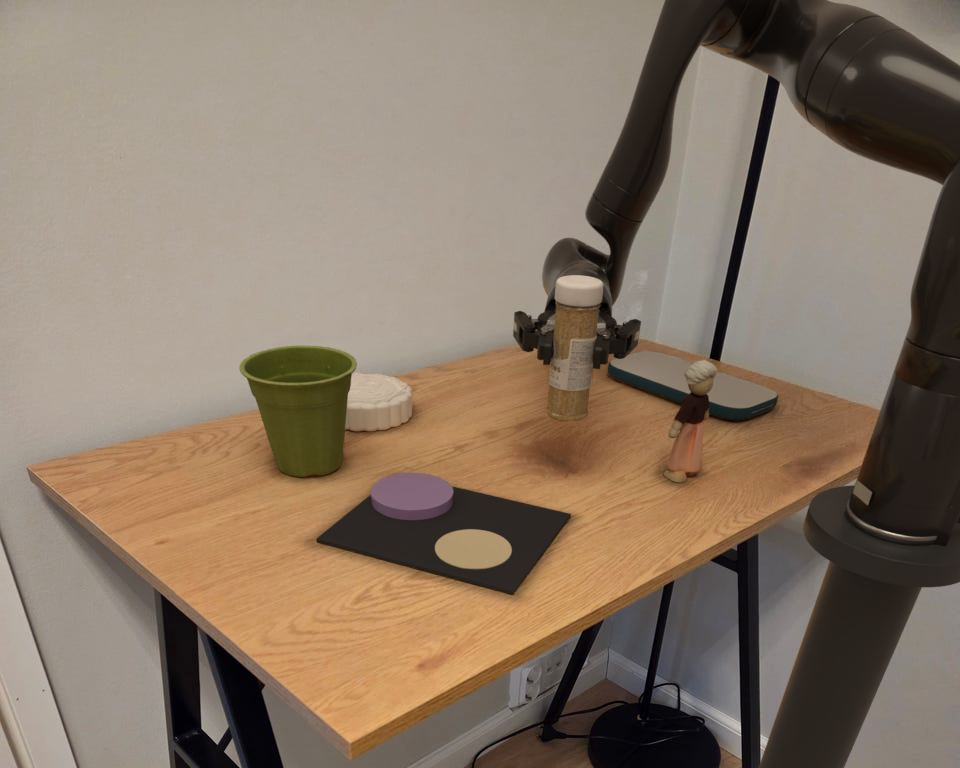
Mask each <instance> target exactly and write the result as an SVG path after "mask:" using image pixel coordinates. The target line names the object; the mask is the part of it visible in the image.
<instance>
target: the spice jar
mask: <svg viewBox="0 0 960 768" xmlns="http://www.w3.org/2000/svg"><path fill="white" fill-rule="evenodd" d="M602 296H603V282H602V281H601V280H599V279H597V278H594V277H590V276H581V275H570V276H563V277H560V278H559V279H557V281H556V288H555V300H556V302H555V303H556V311H555V312H556V314H555V324H554V335H553V343H552V355H551V362H550V365H549V375H548V391H547V404H546V406H545V414H546V416H547V417H549V418H550V419H552V420H553V421H557V422H563V423H574V422H581V421H583V420H585V419H587V417H588V416H589V410H588V406H589V400H590V389H591V386H592V379H593V372H594V369H593V361H594V352H595V343H596V338H597V334H596V333H597V322H598V314H599V307H600V306H601V305H600V303H601V302H602Z"/></svg>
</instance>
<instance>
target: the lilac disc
mask: <svg viewBox="0 0 960 768" xmlns="http://www.w3.org/2000/svg"><path fill="white" fill-rule="evenodd" d="M453 494H454V492H453V488H452V484H450V482H449V481H447V480H446V479H445V478H442V477H440V476H437V475H433V474H429V473H422V472H400V473H399V472H398V473H395V474H390V475H387V476H383V477H382V478H380V479H378V480H377V481H375V482H374V483H373V484H372V486H371V488H370V495H371V503H372V506H373V507H374V509H375V510H376V511H378V512H379V513H381V514H383V515H385V516H388V517H391V518H395V519H400V520H425V519H431V518H434V517H437V516H440V515H442V514H444V513H446V512H447V511H448V510H449V509H450V508H451V507H452V505H453Z"/></svg>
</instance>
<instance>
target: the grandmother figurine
mask: <svg viewBox="0 0 960 768" xmlns="http://www.w3.org/2000/svg"><path fill="white" fill-rule="evenodd" d="M693 363H694V364H693V365H691V366H690V367H688V369H687V371H685V373H684V376H685V377H686V381H687V383H688V387H689V390H690V391H691V393H690V394H688V395H687V396H686V397H685V398H684V400H683V402H682V404H681V405H680V407H679V409H678V411H677V413H676V415H675V416H674V419H673V422H672V424H671V428H670V429H669V431H668V432H667V436H668V438H670V439H674V442H673V445H672V448H671V451H670V456H669V459H668V464H667V468H668V469H666V470H665V471H664V472H663V476H664V477H665V478H666V479H668V480H670V481H671V482H674V483H678V484H679V483H685V482H686V481H687V480H688V477H693V476H695V475H696V474H697V473H698V472H700V471H701V469H702V464H703V463H702V462H703V450H704V427H705V426H704V421H706V420H708V419H709V417H710V414H709V397H708V395H707V393H708V392H709V391H710V390H711V389H712V386H713V378H715V376H716V375H717V371H718V367H717V366H716V365H715V364H714V363H712V362H710V361H707V360H704V359H701V360H698V361H696V362H693Z"/></svg>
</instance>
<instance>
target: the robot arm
mask: <svg viewBox="0 0 960 768" xmlns="http://www.w3.org/2000/svg"><path fill="white" fill-rule="evenodd" d="M700 46H701V47H702V48H705V49H707V50H709V51H711V52H713V53H715V54H719V55H721V56H722V57H725V58H728V59H731V60H735V61H738V62H741V63H744V64H746V65H748V66H750V67H752V68H755V69H757V70H759V71H761V72H762V73H765V74H767V75H769V76H770V77H771V78H774V79H775V80H776V81H778V82H779V83H780V84H781V85H782V87H783V88H784V90H785V91H786V95H787V97H788V99H789V101H790V103H791V104H792V106H793V107H794V109H795V111H796V112H797V113H798V114H799V115H800V116H801V117H802V118H803V119H804V120H805V121H806V122H807V123H808V124H810V126H812V127H813V128H814V129H816V130H817V131H819V132H820V133H821V134H823V135H824V136H825V137H827V138H828V139H830V140H831V141H833V143H835V144H837V145H839V146H840V147H842V148H844V149H845V150H847V151H849V152H851V153H852V154H855V155H857V156H860V157H861V158H864V159H868V160H870V161H872V162H875V163H878V164H880V165H881V164H882V165H885V166H887V167H890V168H893V169H897V170H900V171H903V172H906V173H911V174H914V175H915V176H920V177H923V178H926V179H928V180H931V181H933V182H935V183H938V184H939V185H941V186H942V187H941V189H940V191H939V194H938V196H937V200H936V202H935V205H934V209H933V212H932V214H931V218H930V222H929V226H928V228H927V231H926V236H925V239H924V242H923V246H922V250H921V253H920V257H919V260H918V264H917V268H916V271H915V274H914V277H913V281H912V286H911V290H910V301H909V302H910V322H909V325H908V328H907V332H906V335H905V337H904V340H903V343H902V346H901V348H900V351H899V354H898V358H897V360H896V363H895V366H894V369H893V372H892V375H891V378H890V381H889V384H888V386H887V389H886V393H885V395H884V398H883V401H882V404H881V407H880V409H879V410H880V411H879V412H878V416H877V418H876V422H875V425H874V427H873V430H872V433H871V436H870V439H869V443H868V446H867V448H866V451H865V454H864V457H863V459H862V463H861V466H860V468H859V471H858V473H857V474H858V475H857V478H856V481H855V482H854V483H855V484H854V485H855V486H854V485H853V486H854V489H853V490H852V493H851V496H850V499H849V501H848V503H847V506H846V509H845V515H846V518H847V519H848V521H849V522H850V523H851V524H852V525H854V526H855V527H856V528H858V529H859V530H861V531H863V532H865V533H867V534H869V535H871V536H873V537H876V538H879V539H882V540H885V541H889V542H893V543H898V544H904V545H914V546H923V545H933V544H934V545H940V546H947V544H948V541H949V539H950V537H951V534H952V532H953V530H954V528H955V525H956V523H959V524H960V64H959V63H957V62H956V61H954V60H952V59H951V58H949V57H948V56H946V55H945V54H943V53H941V52H940V51H938V50H937V49H935V48H934V47H932V46H931V45H929V44H928V43H926V42H924V41H922V40H921V39H920V38H918V37H917V36H915V35H914V34H912V33H911V32H910V31H907V30H906V29H904V28H903V27H901V26H899V25H897V24H896V23H893V22H892V21H891V20H888V19H887V18H885V17H884V16H881V15H880V14H878V13H876V12H873V11H870V10H868V9H865V8H863V7H859V6H856V5H851V4H848V3H841V2H833V1H831V0H664V2H663V5H662V8H661V10H660V14H659V17H658V20H657V23H656V26H655V29H654V32H653V35H652V38H651V41H650V44H649V47H648V50H647V53H646V55H645V59H644V62H643V65H642V68H641V70H640V71H641V72H640V74H639V77H638V81H637V84H636V87H635V91H634V93H633V96H632V100H631V103H630V106H629V109H628V112H627V114H626V118H625V120H624V123H623V127H622V128H621V130H620V134H619V136H618V138H617V141H616V143H615V145H614V148H613V150H612V152H611V154H610V156H609V158H608V161H607V162H606V165H605V167H604V169H603V171H602V173H601V175H600V177H599V179H598V182H597V183H596V185H595V188H594V190H593V192H592V194H591V196H590V197H589V200H588V202H587V205H586V208H585V212H584V216H585V217H584V218H585V220H586V222H587V224H588V225H589V226H590V227H591V228H592V229H593V230H594V231H595V232H596V233H597V234H598V235H599V236H601V237H602V238H603V239H604V240H605V242H606V243H607V245H608V247H609V254H607V253H605V252H603V251H601V250H599V249H597V248H595V247H593V246H591V245H590V244H587V243H586V242H583V241H582V240H579V238H575V237H563V238H561V239H559V240H558V241H556V242H555V243H554V244H553V245H552V246H551V248H550V249H549V250H548V253H547V254H546V256H545V258H544V262H543V266H542V271H541V283H542V288H543V290H544V292H545V293H546V296H547V299H546V302H545V308H544V311H543V312H541V313H540V314H539V315H538V316H537V318H533V316H532V315H531V314H527V313H526V312H525V311H522V310H518V311H514V314H513V331H512V337H513V338H514V340H515V341H516V343H517V345H518V346H519V348H520V349H521V350H522V351H523V352H525V353H531V352H534V351H535V349H536V359H537V360H539V361H542V365H543V366H550V364H551V355H552V343H553V335H554V324H555V314H556V312H555V311H556V303H555V302H556V300H555V288H556V281H557V279H559V278H560V277H563V276H570V275H581V276H590V277H594V278H597V279H599V280H601V281H602V282H603V296H602V302H601V303H600V305H601V306H600V307H599V314H598V322H597V333H596V334H597V338H596V343H595V352H594V361H593V370H601V365H604V366H606V365H608V364H609V356H610V355H613V358H614V359H615V358H617V359H623V358H625V357H626V356H627V355H629V354H631V353H632V351H634V350H635V348H636V347H638V345H639V338H640V331H641V327H642V321H641V320H639V319H637V318H633V319H629V320H628V321H623V322H622V324H618V322H617V320H616V318H614V317H613V306H614V305H615V303H616V302H617V300H618V298H619V296H620V293H621V289H622V286H623V284H624V278H625V274H626V270H627V266H628V261H629V257H630V254H631V250H632V247H633V244H634V242H635V240H636V236H637V234H638V232H639V230H640V228H641V226H642V224H643V222H644V220H645V218H646V216H647V214H648V212H649V211H650V209H651V207H652V205H653V203H654V201H655V199H656V197H657V196H658V194H659V192H660V190H661V188H662V185H663V183H664V180H665V178H666V176H667V172H668V169H669V165H670V160H671V153H672V145H673V144H672V143H673V130H674V119H675V112H676V111H675V110H676V105H677V99H678V94H679V91H680V87H681V84H682V81H683V79H684V76H685V74H686V72H687V69H688V67H689V66H690V64H691V62H692V60H693V58H694V56H695V54H696V53H697V51H698V50H699V48H700Z"/></svg>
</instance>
